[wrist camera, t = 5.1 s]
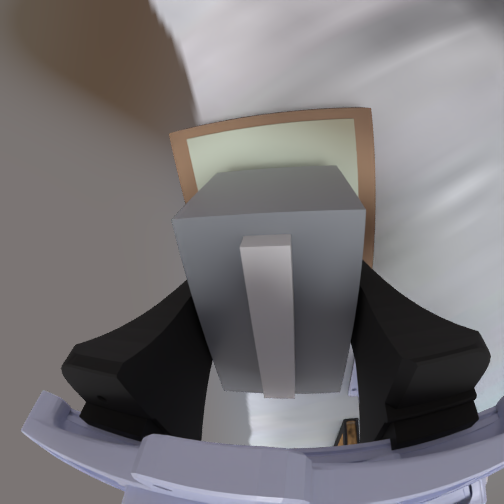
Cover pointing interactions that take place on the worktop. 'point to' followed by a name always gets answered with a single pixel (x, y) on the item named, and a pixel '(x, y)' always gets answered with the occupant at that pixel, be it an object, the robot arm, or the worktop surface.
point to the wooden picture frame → (284, 150)
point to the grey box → (275, 275)
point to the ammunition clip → (348, 433)
